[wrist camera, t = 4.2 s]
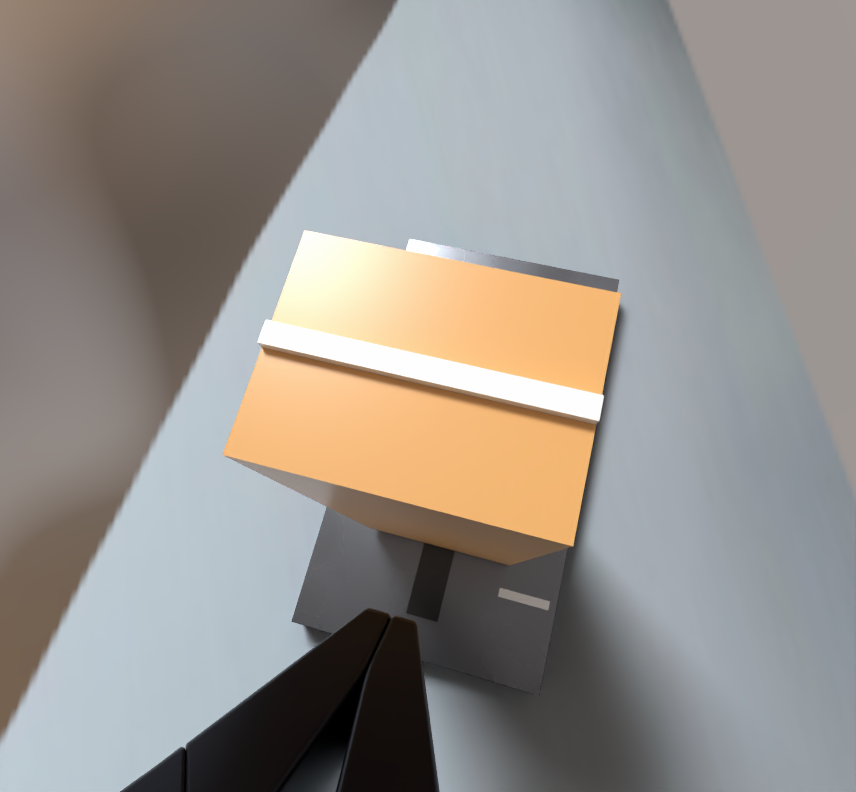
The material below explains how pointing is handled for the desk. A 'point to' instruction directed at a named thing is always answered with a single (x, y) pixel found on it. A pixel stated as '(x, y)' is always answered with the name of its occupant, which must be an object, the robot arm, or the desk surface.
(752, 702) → the desk surface
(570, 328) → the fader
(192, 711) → the desk surface
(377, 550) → the plate
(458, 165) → the desk surface
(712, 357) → the desk surface
